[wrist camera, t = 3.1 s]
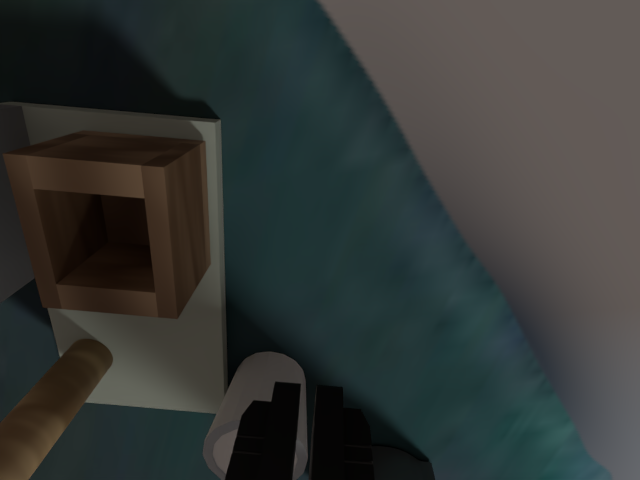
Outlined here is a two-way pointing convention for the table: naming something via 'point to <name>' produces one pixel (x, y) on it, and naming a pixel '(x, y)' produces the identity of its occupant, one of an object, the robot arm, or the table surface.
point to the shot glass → (245, 387)
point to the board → (140, 331)
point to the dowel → (50, 408)
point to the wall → (12, 208)
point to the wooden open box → (114, 220)
